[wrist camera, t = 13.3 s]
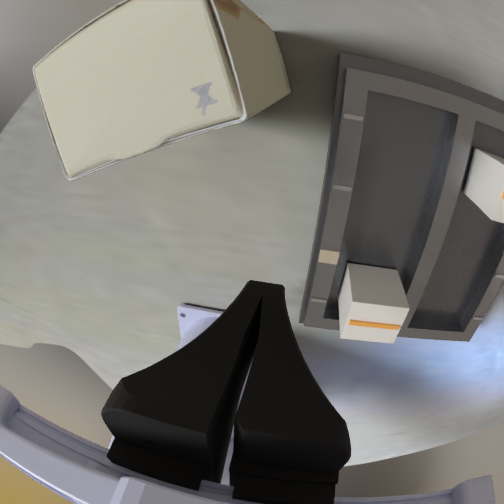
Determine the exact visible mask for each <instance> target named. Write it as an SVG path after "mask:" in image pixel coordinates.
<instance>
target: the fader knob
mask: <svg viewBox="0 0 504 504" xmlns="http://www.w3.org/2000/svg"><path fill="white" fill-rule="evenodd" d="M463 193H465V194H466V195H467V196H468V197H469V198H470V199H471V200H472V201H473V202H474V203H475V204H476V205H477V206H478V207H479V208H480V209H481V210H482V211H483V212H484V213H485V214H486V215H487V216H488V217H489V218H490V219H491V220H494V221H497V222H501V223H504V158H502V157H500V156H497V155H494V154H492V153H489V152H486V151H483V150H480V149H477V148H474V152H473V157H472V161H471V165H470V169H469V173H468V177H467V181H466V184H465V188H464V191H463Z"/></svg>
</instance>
